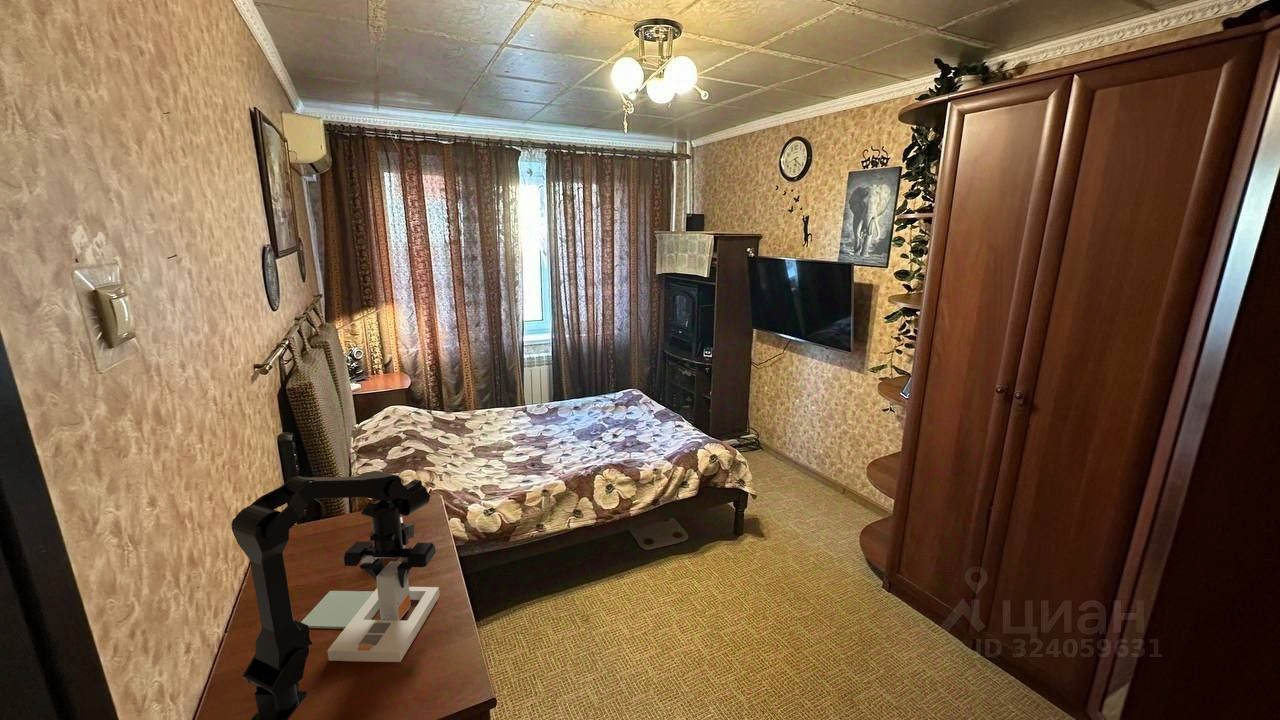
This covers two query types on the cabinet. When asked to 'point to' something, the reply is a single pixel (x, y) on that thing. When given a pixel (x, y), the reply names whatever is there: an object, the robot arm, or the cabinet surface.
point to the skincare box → (392, 593)
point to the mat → (336, 609)
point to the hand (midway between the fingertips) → (393, 586)
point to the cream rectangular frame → (382, 630)
